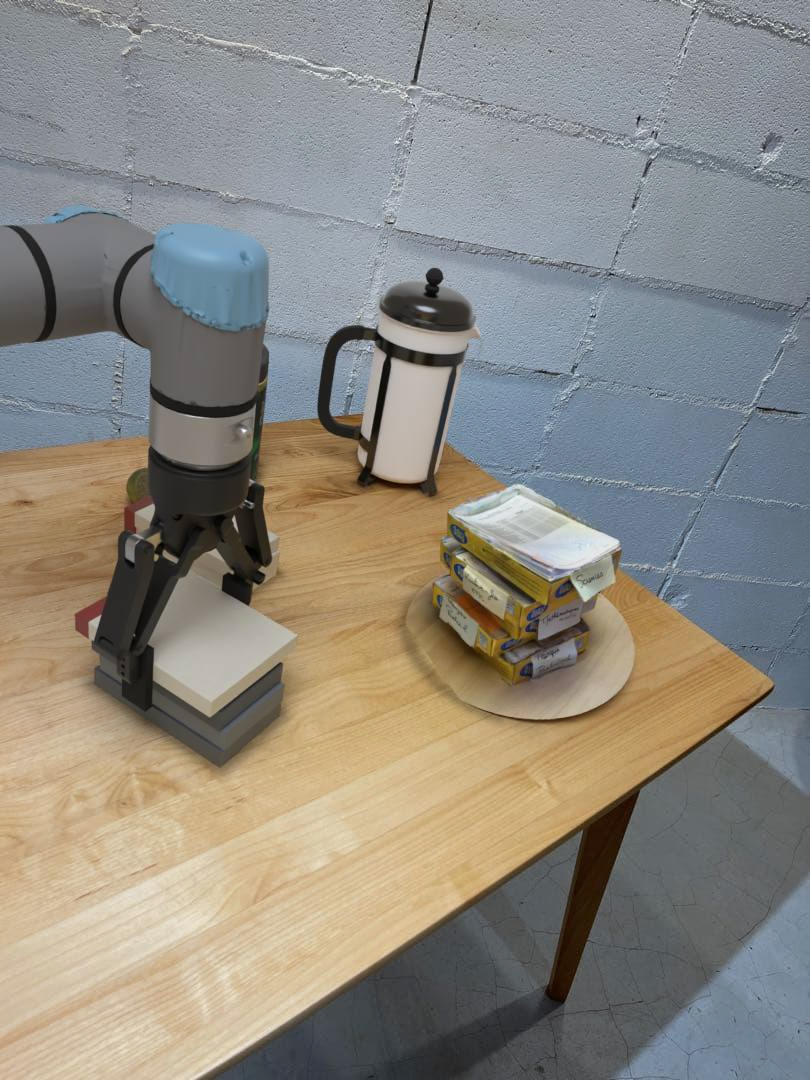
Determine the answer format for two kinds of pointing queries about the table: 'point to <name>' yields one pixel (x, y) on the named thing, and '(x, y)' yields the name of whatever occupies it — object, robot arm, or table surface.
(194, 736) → the grey stack
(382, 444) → the coffee press
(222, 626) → the white book
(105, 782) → the table surface
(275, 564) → the white stack
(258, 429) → the coffee jar
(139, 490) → the lime
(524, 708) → the paper stack
